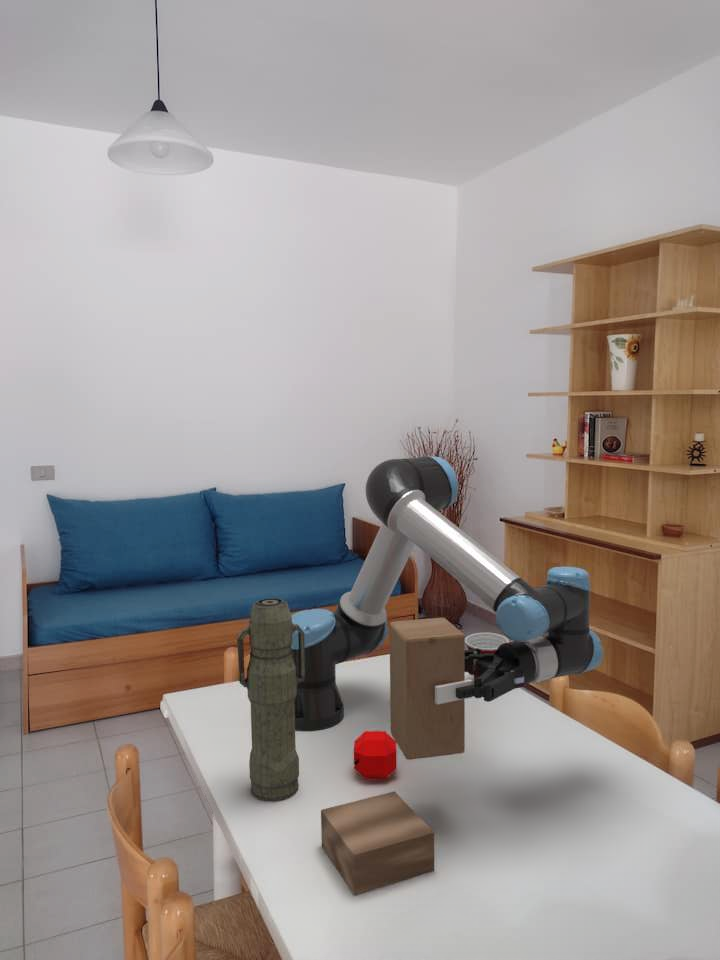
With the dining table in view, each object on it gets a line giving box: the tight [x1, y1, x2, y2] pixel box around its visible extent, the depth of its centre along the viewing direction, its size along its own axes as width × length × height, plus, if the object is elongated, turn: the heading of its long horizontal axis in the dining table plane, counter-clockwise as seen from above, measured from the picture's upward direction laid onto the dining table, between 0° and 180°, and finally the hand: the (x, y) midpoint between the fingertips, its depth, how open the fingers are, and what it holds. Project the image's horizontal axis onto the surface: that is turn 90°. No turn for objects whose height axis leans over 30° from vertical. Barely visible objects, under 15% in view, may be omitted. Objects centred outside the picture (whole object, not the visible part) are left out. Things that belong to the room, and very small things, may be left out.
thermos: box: [236, 597, 305, 803], centre depth 130 cm, size 9×12×35 cm
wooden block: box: [389, 617, 466, 761], centre depth 120 cm, size 10×10×20 cm
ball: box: [353, 730, 398, 780], centre depth 136 cm, size 8×8×8 cm
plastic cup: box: [465, 632, 510, 678], centre depth 180 cm, size 11×11×12 cm
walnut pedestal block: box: [320, 790, 435, 896], centre depth 111 cm, size 13×13×6 cm
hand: (417, 682), depth 119 cm, fingers closed on wooden block, 11 cm apart
